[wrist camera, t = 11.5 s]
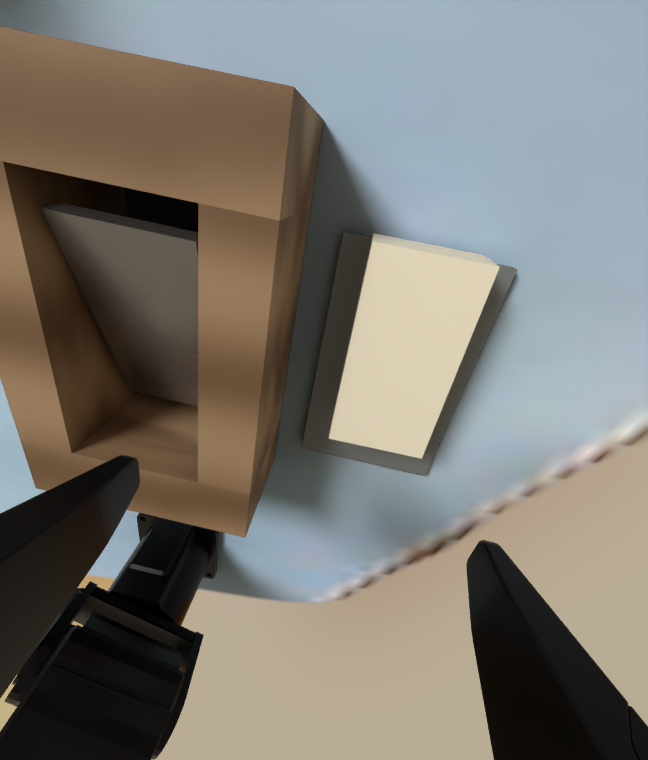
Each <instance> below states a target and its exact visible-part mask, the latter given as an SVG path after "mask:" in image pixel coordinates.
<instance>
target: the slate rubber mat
mask: <svg viewBox="0 0 648 760" xmlns="http://www.w3.org/2000/svg"><path fill="white" fill-rule="evenodd" d="M371 241H372V237H368V236H363V235H359V234H354V233H349V232H345V231H344V232H343V237H342V242H341V247H340V252H339V257H338V262H337V268H336V273H335V278H334V283H333V288H332V293H331V298H330V304H329V309H328V314H327V319H326V324H325V329H324V334H323V340H322V345H321V350H320V355H319V360H318V365H317V370H316V376H315V381H314V386H313V391H312V396H311V401H310V406H309V412H308V417H307V422H306V427H305V432H304V437H303V442H302V448H304V449H309V450H313V451H317V452H322V453H326V454H330V455H335V456H339V457H343V458H348V459H352V460H357V461H361V462H365V463H370V464H374V465H378V466H383V467H387V468H391V469H396V470H400V471H404V472H409V473H413V474H418V475H422V476H425V475H426V473H427V470H428V468H429V466H430V464H431V461H432V459H433V457H434V455H435V452H436V450H437V448H438V446H439V444H440V441H441V439H442V437H443V435H444V432H445V430H446V428H447V426H448V423H449V421H450V419H451V417H452V414H453V412H454V410H455V408H456V406H457V403H458V401H459V399H460V397H461V394H462V392H463V390H464V388H465V385H466V383H467V381H468V379H469V376H470V374H471V372H472V370H473V368H474V365H475V363H476V361H477V359H478V356H479V354H480V352H481V350H482V347H483V345H484V343H485V341H486V338H487V336H488V334H489V332H490V330H491V327H492V325H493V323H494V321H495V318H496V316H497V314H498V312H499V309H500V307H501V305H502V303H503V301H504V298H505V296H506V294H507V292H508V289H509V287H510V285H511V283H512V280H513V278H514V276H515V274H516V271H517V270H516V269H515V268H513V267H508V266H504V265H499V264H497V265H498V266H499V267H500V268H499V270H498V273H497V275H496V278H495V280H494V282H493V285H492V287H491V290H490V292H489V295H488V297H487V300H486V302H485V305H484V307H483V309H482V312H481V314H480V317H479V319H478V322H477V324H476V327H475V329H474V332H473V334H472V336H471V339H470V341H469V344H468V346H467V349H466V351H465V354H464V356H463V359H462V361H461V363H460V366H459V368H458V371H457V373H456V376H455V378H454V381H453V383H452V386H451V388H450V391H449V393H448V395H447V398H446V400H445V403H444V405H443V408H442V410H441V413H440V415H439V418H438V420H437V422H436V425H435V427H434V430H433V432H432V435H431V437H430V440H429V442H428V445H427V447H426V449H425V452H424V454H423V457H422V459H421V458H416V457H411V456H407V455H402V454H398V453H393V452H388V451H384V450H379V449H375V448H370V447H365V446H361V445H356V444H352V443H347V442H342V441H338V440H333V439H329V434H330V429H331V423H332V418H333V413H334V408H335V404H336V399H337V395H338V390H339V386H340V381H341V377H342V372H343V367H344V363H345V358H346V354H347V349H348V345H349V340H350V336H351V331H352V327H353V322H354V318H355V313H356V309H357V304H358V300H359V295H360V291H361V286H362V282H363V277H364V273H365V268H366V264H367V259H368V254H369V250H370V245H371Z"/></svg>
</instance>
